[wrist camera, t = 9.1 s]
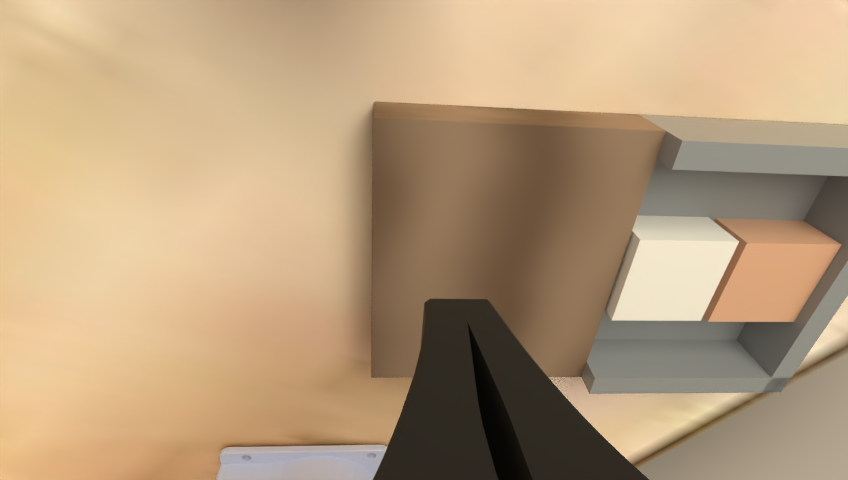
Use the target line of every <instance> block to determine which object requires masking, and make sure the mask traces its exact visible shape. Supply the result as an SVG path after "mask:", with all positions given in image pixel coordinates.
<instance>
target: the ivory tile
mask: <svg viewBox="0 0 848 480" xmlns="http://www.w3.org/2000/svg"><path fill="white" fill-rule="evenodd" d="M738 243H739V241H738V240H737V239H735V238H734V237H733V236H732V235H730V234H729V233H728V232H727V231H725V230H724V229H723V228H721V227H720V226H719V225H718V224H716V223H715V222H714V221H713V220H711V219H710V218H709V217H681V216H639V215H637V218H636V221H635V224H634V227H633V230H632V233H631V235H630V238H629V241H628V244H627V247H626V250H625V253H624V256H623V259H622V261H621V264H620V267H619V270H618V273H617V276H616V279H615V282H614V285H613V287H612V290H611V293H610V296H609V299H608V302H607V305H606V308H605V310H606V312H607V314H608V315H609V317H610V318H611V320H625V321H701V319H702V317H703V315H704V313H705V311H706V309H707V307H708V305H709V303H710V301H711V299H712V297H713V295H714V293H715V291H716V288H717V286H718V284H719V282H720V280H721V278H722V276H723V274H724V272H725V270H726V268H727V266H728V264H729V262H730V260H731V258H732V256H733V254H734V251H735V249H736V247H737V245H738Z"/></svg>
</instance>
